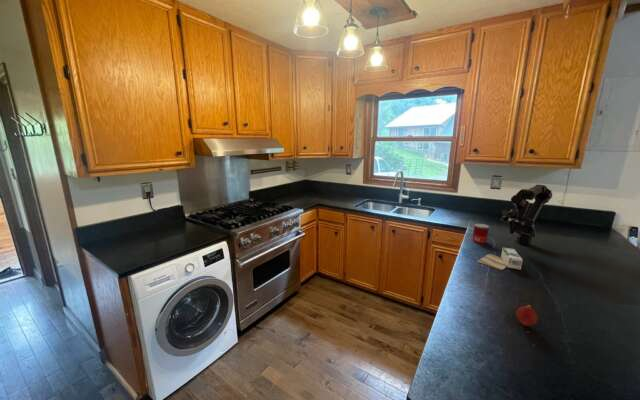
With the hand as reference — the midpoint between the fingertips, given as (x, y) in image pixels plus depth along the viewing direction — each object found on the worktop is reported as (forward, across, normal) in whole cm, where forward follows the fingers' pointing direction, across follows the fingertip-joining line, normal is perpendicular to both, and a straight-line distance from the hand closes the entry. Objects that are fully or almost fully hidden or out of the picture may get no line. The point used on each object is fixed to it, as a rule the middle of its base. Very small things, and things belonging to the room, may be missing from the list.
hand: (510, 233), depth 154 cm
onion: (+41, +60, -28) cm, 78 cm away
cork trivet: (+20, +12, -12) cm, 26 cm away
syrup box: (+12, +9, -4) cm, 16 cm away
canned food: (+10, -16, -5) cm, 20 cm away
